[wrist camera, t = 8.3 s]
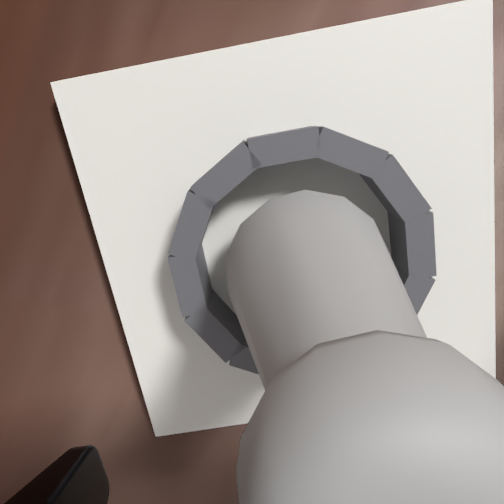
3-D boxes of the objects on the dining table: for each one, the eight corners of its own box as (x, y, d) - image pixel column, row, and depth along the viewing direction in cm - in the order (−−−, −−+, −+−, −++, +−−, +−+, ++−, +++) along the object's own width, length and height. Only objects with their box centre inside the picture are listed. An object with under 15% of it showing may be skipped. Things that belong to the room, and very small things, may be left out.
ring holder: (477, 3, 15) (529, -26, 12) (484, 374, 20) (523, 416, 17) (62, 84, 16) (21, 75, 13) (160, 422, 21) (145, 470, 18)
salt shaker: (330, 335, 18) (497, 788, 6) (208, 287, 18) (98, 680, 5) (395, 214, 17) (820, 479, 4) (264, 157, 16) (302, 266, 4)
